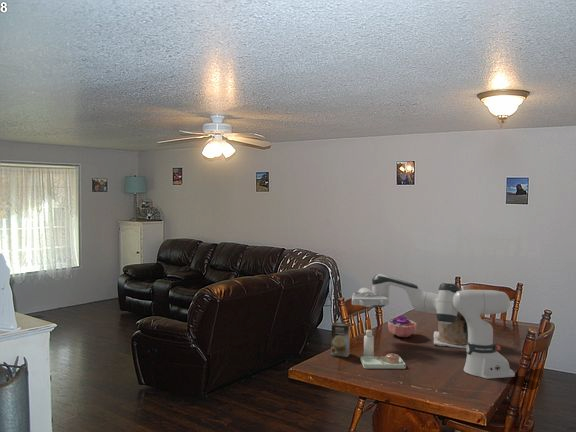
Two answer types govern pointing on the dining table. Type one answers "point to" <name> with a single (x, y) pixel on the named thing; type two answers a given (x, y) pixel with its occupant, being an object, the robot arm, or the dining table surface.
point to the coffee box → (340, 339)
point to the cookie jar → (452, 333)
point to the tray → (380, 363)
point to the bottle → (369, 344)
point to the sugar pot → (392, 358)
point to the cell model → (402, 326)
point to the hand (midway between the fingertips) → (372, 303)
